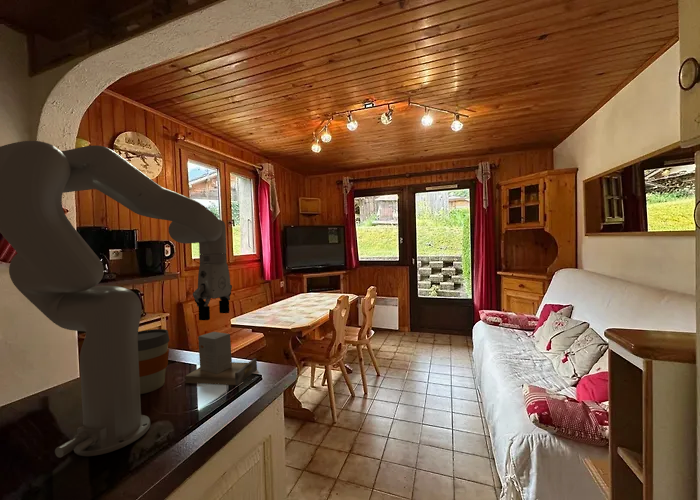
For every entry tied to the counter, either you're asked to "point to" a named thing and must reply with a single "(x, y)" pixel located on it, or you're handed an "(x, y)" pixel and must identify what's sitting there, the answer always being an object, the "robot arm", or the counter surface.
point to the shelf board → (224, 374)
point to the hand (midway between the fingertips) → (214, 316)
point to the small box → (215, 352)
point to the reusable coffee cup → (152, 358)
